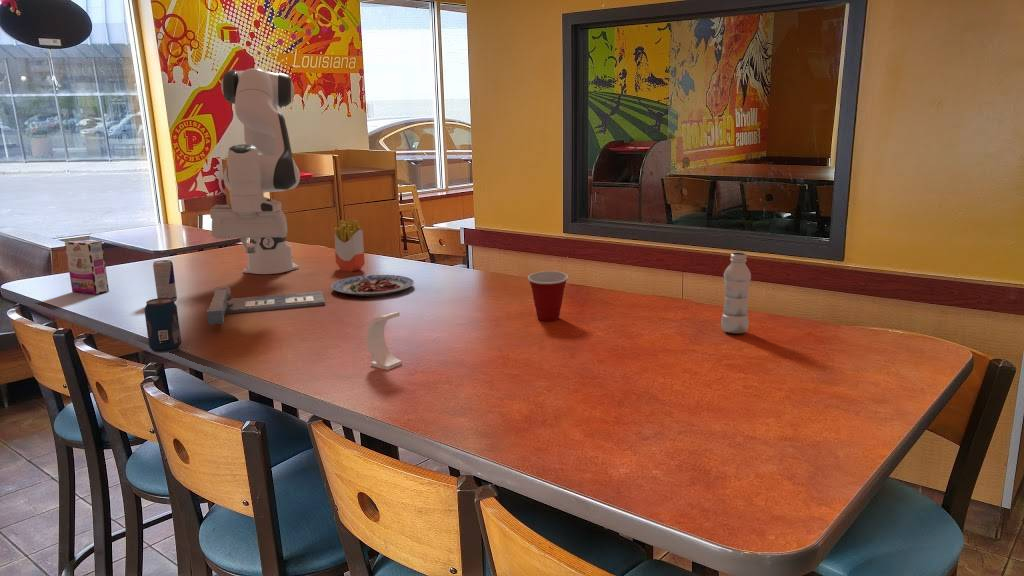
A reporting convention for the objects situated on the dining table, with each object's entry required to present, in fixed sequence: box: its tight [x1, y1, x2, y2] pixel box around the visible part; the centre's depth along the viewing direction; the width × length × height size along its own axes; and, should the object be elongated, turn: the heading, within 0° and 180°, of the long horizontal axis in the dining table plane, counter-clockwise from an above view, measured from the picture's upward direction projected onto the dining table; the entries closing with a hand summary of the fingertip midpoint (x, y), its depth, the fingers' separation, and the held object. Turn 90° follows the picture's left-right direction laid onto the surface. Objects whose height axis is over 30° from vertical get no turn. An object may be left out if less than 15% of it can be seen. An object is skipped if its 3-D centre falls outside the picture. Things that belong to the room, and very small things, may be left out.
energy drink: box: [152, 259, 178, 302], centre depth 217 cm, size 5×5×12 cm
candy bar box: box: [64, 239, 110, 295], centre depth 229 cm, size 11×5×16 cm, turn 68°
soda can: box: [144, 297, 182, 354], centre depth 171 cm, size 7×7×12 cm
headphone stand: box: [365, 311, 403, 371], centre depth 158 cm, size 5×6×12 cm
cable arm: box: [206, 285, 232, 326], centre depth 197 cm, size 4×29×4 cm, turn 17°
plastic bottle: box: [720, 251, 752, 335], centre depth 177 cm, size 6×7×20 cm
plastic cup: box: [527, 270, 569, 322], centre depth 193 cm, size 11×11×12 cm
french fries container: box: [333, 218, 365, 273], centre depth 257 cm, size 5×11×18 cm, turn 52°
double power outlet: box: [225, 290, 326, 315], centre depth 212 cm, size 14×30×2 cm, turn 108°
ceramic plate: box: [331, 274, 415, 297], centre depth 229 cm, size 26×26×3 cm
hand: (252, 252), depth 204 cm, fingers closed
